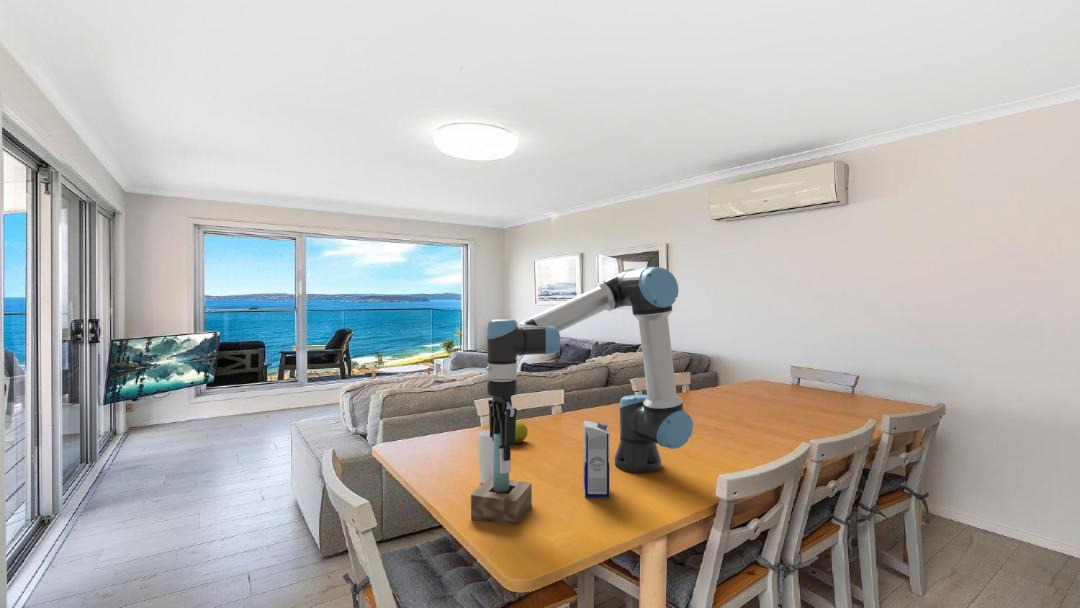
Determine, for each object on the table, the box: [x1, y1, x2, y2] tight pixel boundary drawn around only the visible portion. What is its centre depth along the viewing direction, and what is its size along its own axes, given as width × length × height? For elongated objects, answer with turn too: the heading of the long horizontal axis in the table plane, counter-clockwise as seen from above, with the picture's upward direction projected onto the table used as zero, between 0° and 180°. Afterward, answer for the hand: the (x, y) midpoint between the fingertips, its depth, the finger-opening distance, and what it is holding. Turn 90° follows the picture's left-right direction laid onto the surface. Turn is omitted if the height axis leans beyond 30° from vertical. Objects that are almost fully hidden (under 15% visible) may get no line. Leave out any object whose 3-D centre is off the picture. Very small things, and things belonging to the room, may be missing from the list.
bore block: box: [470, 478, 533, 527], centre depth 123 cm, size 12×12×6 cm
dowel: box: [493, 433, 510, 492], centre depth 123 cm, size 4×4×14 cm
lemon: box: [515, 420, 529, 444], centre depth 181 cm, size 11×8×8 cm
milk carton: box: [583, 420, 610, 499], centre depth 135 cm, size 7×7×20 cm
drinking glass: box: [477, 429, 494, 485], centre depth 142 cm, size 7×7×15 cm
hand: (501, 469), depth 123 cm, fingers closed on dowel, 4 cm apart
